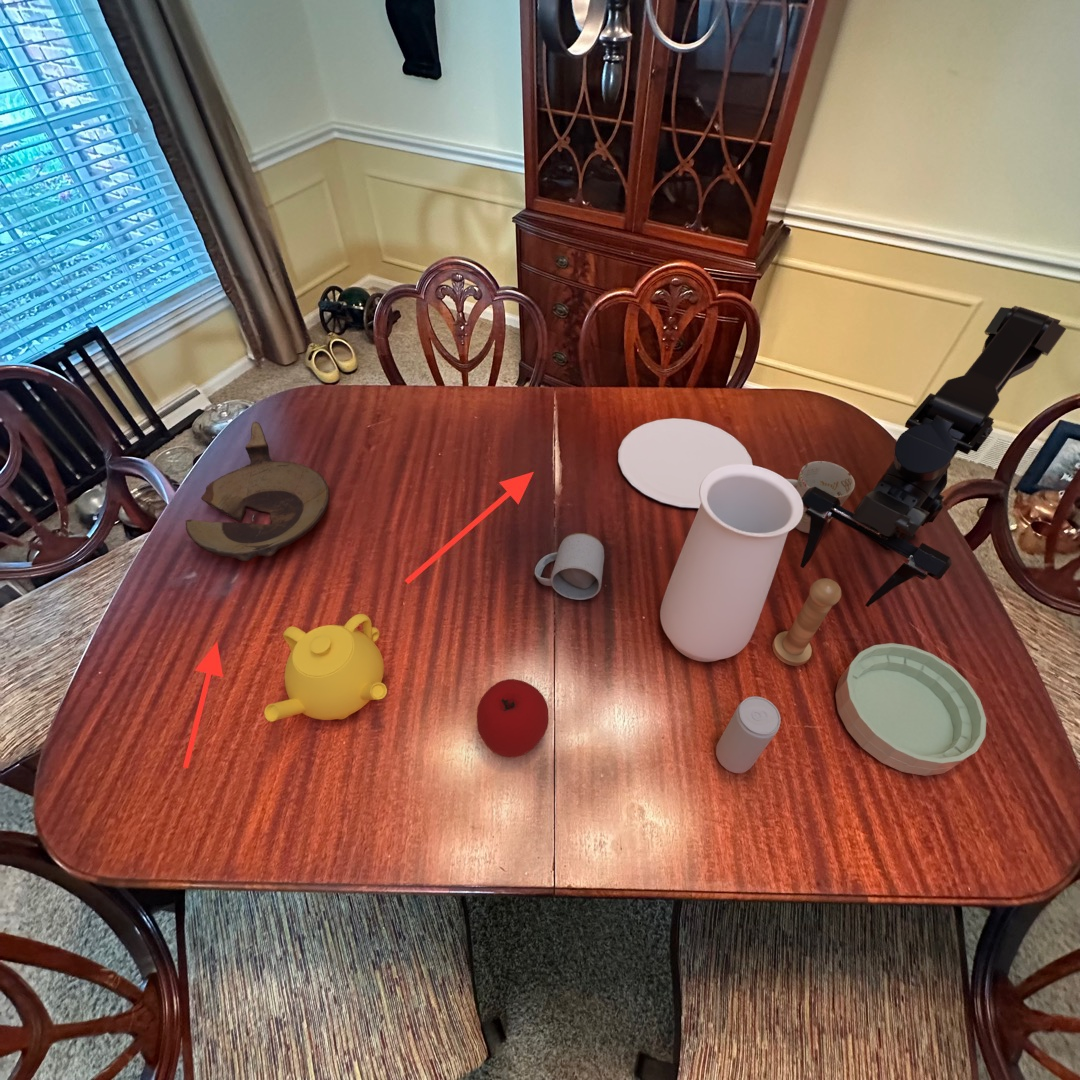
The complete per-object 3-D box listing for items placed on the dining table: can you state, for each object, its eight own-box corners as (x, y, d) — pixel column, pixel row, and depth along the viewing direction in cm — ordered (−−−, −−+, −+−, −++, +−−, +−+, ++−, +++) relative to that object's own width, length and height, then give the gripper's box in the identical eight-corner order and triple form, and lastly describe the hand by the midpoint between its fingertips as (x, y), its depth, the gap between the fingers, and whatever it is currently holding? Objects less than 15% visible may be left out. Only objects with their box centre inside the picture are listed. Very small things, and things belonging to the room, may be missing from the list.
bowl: (894, 645, 87) (910, 626, 83) (992, 744, 77) (1016, 727, 74) (807, 689, 82) (820, 671, 79) (900, 800, 73) (920, 785, 69)
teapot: (285, 748, 77) (254, 710, 69) (289, 657, 86) (262, 613, 77) (398, 724, 79) (382, 684, 71) (391, 638, 88) (376, 593, 80)
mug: (834, 542, 100) (858, 499, 92) (757, 531, 102) (774, 488, 94) (829, 507, 105) (851, 464, 98) (755, 497, 107) (772, 454, 99)
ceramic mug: (604, 562, 97) (607, 530, 91) (599, 603, 92) (602, 572, 86) (539, 555, 98) (538, 523, 93) (531, 595, 93) (529, 564, 87)
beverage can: (710, 739, 78) (732, 696, 69) (746, 736, 78) (773, 693, 69) (720, 776, 75) (745, 737, 66) (758, 773, 75) (788, 733, 66)
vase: (693, 687, 83) (745, 558, 62) (639, 618, 90) (669, 481, 69) (764, 647, 87) (837, 514, 66) (707, 584, 94) (755, 446, 73)
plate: (733, 421, 121) (735, 416, 120) (768, 510, 105) (771, 505, 104) (610, 423, 121) (610, 418, 120) (626, 513, 104) (627, 508, 103)
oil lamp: (172, 574, 96) (148, 543, 90) (246, 451, 115) (231, 419, 110) (309, 583, 95) (294, 552, 89) (360, 457, 114) (351, 425, 108)
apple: (542, 772, 75) (542, 740, 68) (471, 761, 76) (464, 727, 69) (553, 704, 81) (554, 667, 74) (487, 694, 82) (482, 657, 75)
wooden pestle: (792, 629, 89) (831, 562, 77) (817, 657, 86) (861, 592, 74) (764, 642, 87) (799, 576, 75) (788, 671, 84) (829, 607, 72)
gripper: (832, 438, 74) (760, 544, 78) (992, 514, 66) (904, 630, 69) (838, 456, 84) (774, 550, 87) (978, 525, 75) (901, 626, 79)
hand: (833, 586), depth 80 cm, fingers open, 9 cm apart
